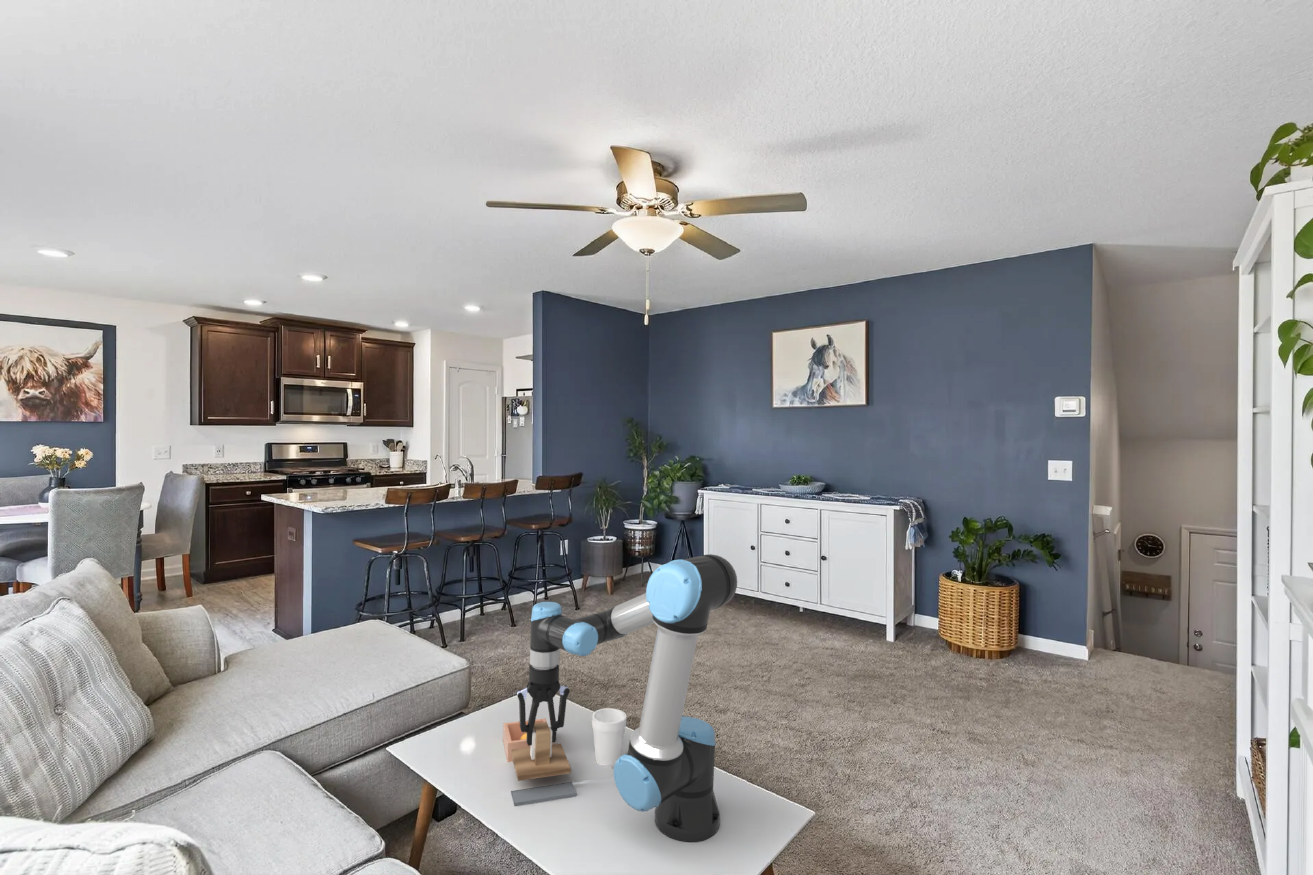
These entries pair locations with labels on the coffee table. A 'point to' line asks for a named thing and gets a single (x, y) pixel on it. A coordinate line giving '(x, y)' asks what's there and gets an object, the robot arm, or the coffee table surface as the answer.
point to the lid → (540, 757)
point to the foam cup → (608, 735)
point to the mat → (543, 793)
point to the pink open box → (515, 737)
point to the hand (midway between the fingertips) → (540, 755)
